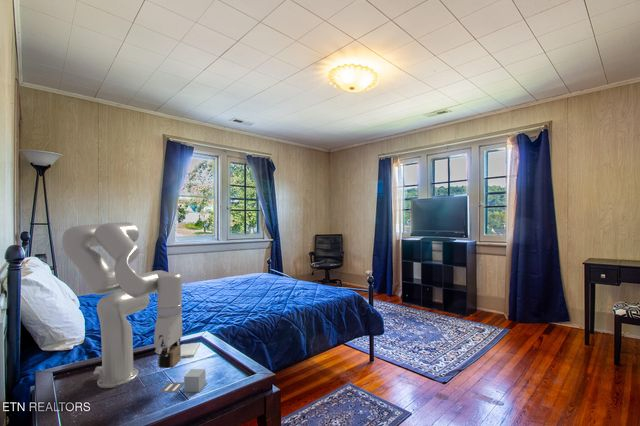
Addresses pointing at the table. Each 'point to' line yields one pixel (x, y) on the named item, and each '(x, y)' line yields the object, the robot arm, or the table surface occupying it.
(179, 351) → the walnut block
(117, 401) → the table surface
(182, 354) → the hard drive
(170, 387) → the board
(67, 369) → the table surface
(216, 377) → the table surface
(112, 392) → the table surface
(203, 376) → the light grey cube
